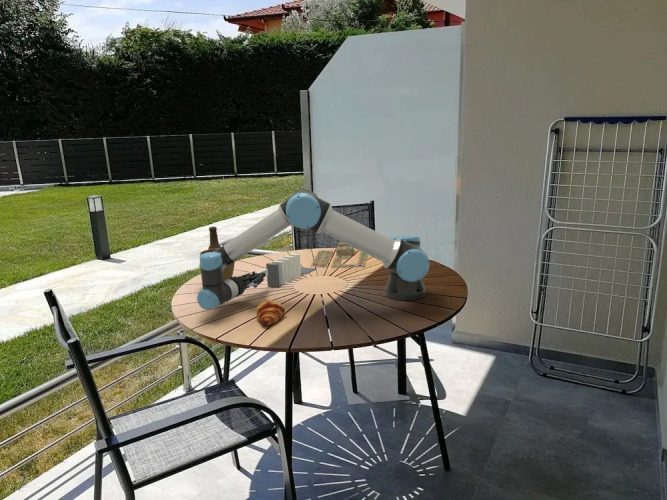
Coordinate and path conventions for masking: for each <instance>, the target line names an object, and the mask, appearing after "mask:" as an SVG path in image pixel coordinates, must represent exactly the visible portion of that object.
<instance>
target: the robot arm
mask: <svg viewBox="0 0 667 500" xmlns="http://www.w3.org/2000/svg"><path fill="white" fill-rule="evenodd" d="M288 227H295V228H298V229H301V230H307V231H309V232H311V233H312V234H321V233H322V234H325V235H328V236H330V237H331V238H333V239H335V240H337V241H340V242H343V243H345V244H347V245H349V246H351V247H353V248H354V250H358V251H359V252H360V253H361V252H363V253H366V254H368V256H370V257H372V258H373V259H376V260H378V261H380V262H382V264H383V268H385V269H387V270H388V271H389V276H388V277H389V278H388V280H387V284H386V288H385V296H387V298H389V299H392V300H397V301H414V300H415V301H416V300H419V299H421V298H423V297H425V296H426V286H425V285H424V281H423V279H424V278H425V276H426V275H427V273H428V272H429V269H430V260H429V257H428V255H427V253H426V252H425V251H424V250H422V248H421V239H420V237H419V236H417V235H399V236H398V235H397V236H391V237H388V236H386V235H384V234H382V233H380V232H379V231H378V232H377V231H376V230H374V229H372V228H370V227H368V226H366V225H364V224H362V223H359V222H358V221H356V220H354V219H352V218H350V217H348V216H346V215H344V214H341V213H340V212H337V211H336V210H334V209H333V207H332V204H331V203H329V202H327V201H326V200H323V199H321V198H319V197H318V195H317V194H316V193H315V192H313V191H312V190H309V189H298V190H297V191H295V192H294V193H292V195H290V196H289V197H288V198H287V199H286V200H285V201H283V202H281V203H280V204H279V206H278V209H275V211H273V212H272V213H270V214H269V215H267V216H265V217H264V218H262V219H261V220H259V221H257V223H255V224H254V225H252V226H250V227H249V228H247V229H246V230H244V231H243V232H241V233H240V234H238V235H237V236H235V237H234V238H232V239H231V240H229V241H228V242H227V243H225V244H224V245H222V246H221V247H220V248H219V249H216V250H214V251H213V252H208V253H204V254H202V255H201V256H200V255H199V267H200V276H201V283H202V287H201V288H202V289H201V290H200V291H199V292H198V293H197V296H196V301H197V304H198V305H199V307H200V308H201V309H203V310H206V311H210V310H212V309H215V308H218V307H219V306H221V305H223V304H225V303H228V302H229V301H231V300H234V299H235V298H237V297H239V296H241V295H243V294H244V292H245V290H248V289H249V288H250V287H253V288H254V289H255V288H258V286H259V285H260V284H261V283H263V282H264V280H265V279H264V278H265V277H266V278H267V276H268V269H266V268H263V269H261V270H259V271H257V272H256V271H252V272H251V273H250V272H249V273H245V274H242V275H238V276H232V277H231V278H229V279H227V280H224V281H223V271H224V270H225V268H226V267H228V266H229V265H231V264H232V263H234V262H237V261H238V260H240V259H241V258H243V257H245V256H246V255H247V254H249V253H250V252H252V251H253V250H255V249H256V248H258V247H260V246H261V245H263V244H264V243H266V242H267V241H269V240H270V239H272V238H273V237H275V236H276V235H278V234H279V233H281V232H282V231H284V230H286V229H287V228H288Z"/></svg>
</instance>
